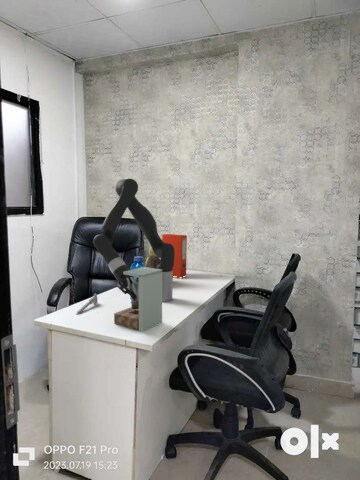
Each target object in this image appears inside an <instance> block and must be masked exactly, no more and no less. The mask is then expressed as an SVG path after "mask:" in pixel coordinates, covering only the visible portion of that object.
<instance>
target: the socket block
mask: <svg viewBox="0 0 360 480" xmlns="http://www.w3.org/2000/svg"><path fill="white" fill-rule="evenodd" d="M113 314H114V315H113V317H114V318H113V319H114V322H113V324H115V325H118V326H120V327H124V328H128V329H132V330H136V331H139V309H132V306H131V307H128V308H125V309H122V310H119V311H117V312H115V313H113Z"/></svg>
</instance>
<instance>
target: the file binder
mask: <svg viewBox="0 0 360 480" xmlns="http://www.w3.org/2000/svg"><path fill="white" fill-rule="evenodd" d="M187 237H188V236H187V235H185V234H175V233H174V234H171V233H166V234H165V233H164V234H162V235H161V240H162V241H163V242H164V243H170V244H172V245H173V247H174V250H175V257H174V266H173V276H177V277H183V276H185V275H186V276H187V249H188V248H187V245H188V243H187V241H188V238H187Z"/></svg>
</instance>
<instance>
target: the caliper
mask: <svg viewBox="0 0 360 480" xmlns="http://www.w3.org/2000/svg"><path fill="white" fill-rule="evenodd" d="M97 304H98V294H97V293H94V294H93V296H92V297H91V298H90V299H88V301H87V302H86V303H85V304H84V305H83V306H82V307H80V309H78V310H77V312H76V313H75V315H76V316H77V315H80V314H81V313H83V312H84V311H85V310H86V309H87V308H88V307H89V306H90V305H97Z"/></svg>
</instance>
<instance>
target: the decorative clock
mask: <svg viewBox="0 0 360 480" xmlns="http://www.w3.org/2000/svg"><path fill="white" fill-rule="evenodd" d="M148 254H149V256H147V258H146V259H145V266H144V267H147V268H154V269H157V265H159V264H160V263H161V258H159V257H157V256H156V255H155V253H154V251H153V249H152V247H151V246H150V247H149V250H148Z"/></svg>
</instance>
